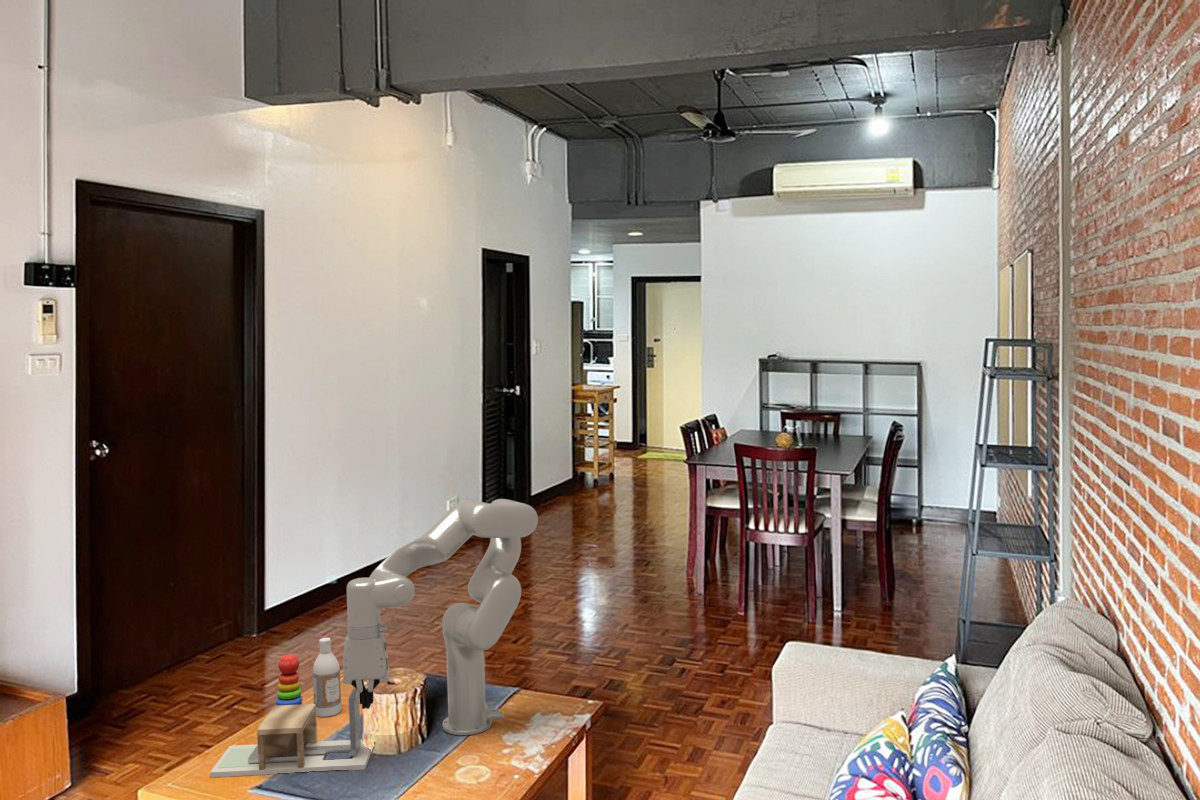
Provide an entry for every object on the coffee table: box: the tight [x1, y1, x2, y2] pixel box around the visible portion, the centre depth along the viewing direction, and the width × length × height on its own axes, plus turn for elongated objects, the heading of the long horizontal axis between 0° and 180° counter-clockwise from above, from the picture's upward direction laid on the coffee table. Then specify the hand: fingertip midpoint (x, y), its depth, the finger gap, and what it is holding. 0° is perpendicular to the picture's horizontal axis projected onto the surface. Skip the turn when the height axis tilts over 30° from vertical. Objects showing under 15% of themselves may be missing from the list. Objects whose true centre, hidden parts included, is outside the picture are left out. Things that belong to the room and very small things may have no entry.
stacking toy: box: [275, 654, 304, 706], centre depth 242 cm, size 8×8×19 cm
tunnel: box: [256, 703, 318, 770], centre depth 223 cm, size 10×14×10 cm
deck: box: [209, 738, 372, 778], centre depth 223 cm, size 35×14×1 cm, turn 94°
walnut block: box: [264, 733, 295, 756], centre depth 223 cm, size 6×6×6 cm
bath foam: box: [312, 637, 342, 718], centre depth 250 cm, size 7×7×20 cm
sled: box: [248, 687, 362, 763], centre depth 223 cm, size 25×8×14 cm, turn 94°
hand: (366, 706), depth 223 cm, fingers closed
